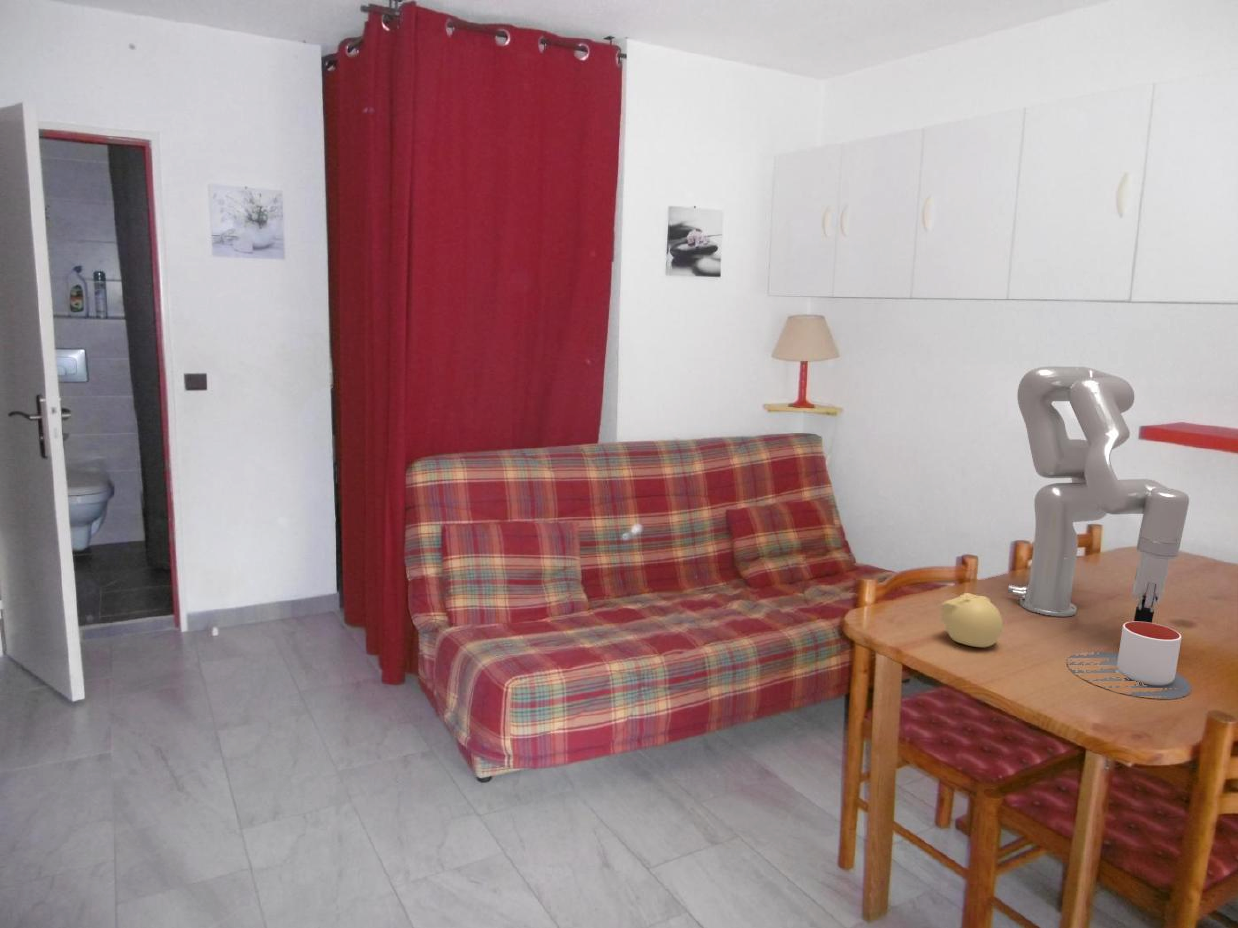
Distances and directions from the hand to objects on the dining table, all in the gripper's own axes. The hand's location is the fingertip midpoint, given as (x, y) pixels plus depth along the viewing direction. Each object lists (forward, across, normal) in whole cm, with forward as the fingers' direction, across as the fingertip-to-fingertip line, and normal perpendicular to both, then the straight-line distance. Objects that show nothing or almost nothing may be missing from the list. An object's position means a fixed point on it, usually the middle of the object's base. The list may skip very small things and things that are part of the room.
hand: (1141, 626), depth 183 cm
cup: (+5, +15, +1) cm, 16 cm away
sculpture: (+7, +16, -32) cm, 36 cm away
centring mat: (+5, +16, -2) cm, 17 cm away
